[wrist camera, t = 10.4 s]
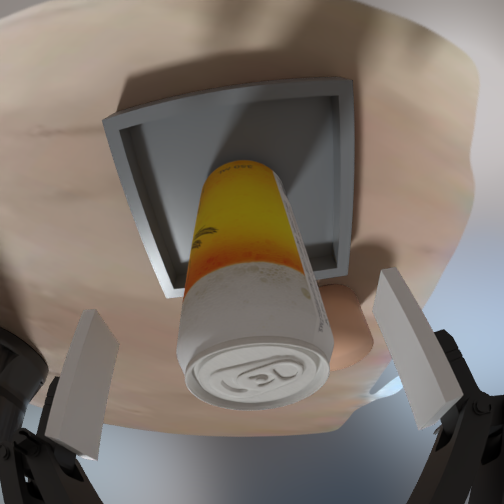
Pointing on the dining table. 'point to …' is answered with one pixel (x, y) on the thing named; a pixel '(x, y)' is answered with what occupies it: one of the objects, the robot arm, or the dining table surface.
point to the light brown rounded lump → (346, 326)
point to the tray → (239, 148)
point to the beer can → (251, 297)
